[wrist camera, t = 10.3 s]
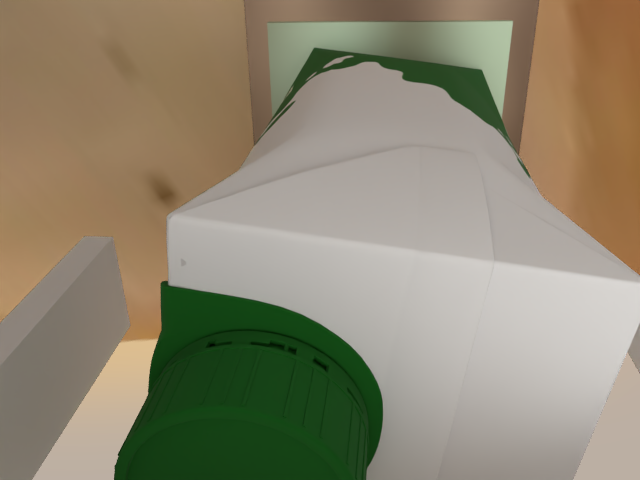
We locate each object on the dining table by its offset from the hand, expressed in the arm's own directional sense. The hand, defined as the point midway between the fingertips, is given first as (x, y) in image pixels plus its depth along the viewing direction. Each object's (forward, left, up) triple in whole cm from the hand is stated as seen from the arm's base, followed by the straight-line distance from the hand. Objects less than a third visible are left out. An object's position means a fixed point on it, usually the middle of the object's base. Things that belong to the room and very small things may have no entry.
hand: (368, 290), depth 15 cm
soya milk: (0, 0, -13) cm, 13 cm away
